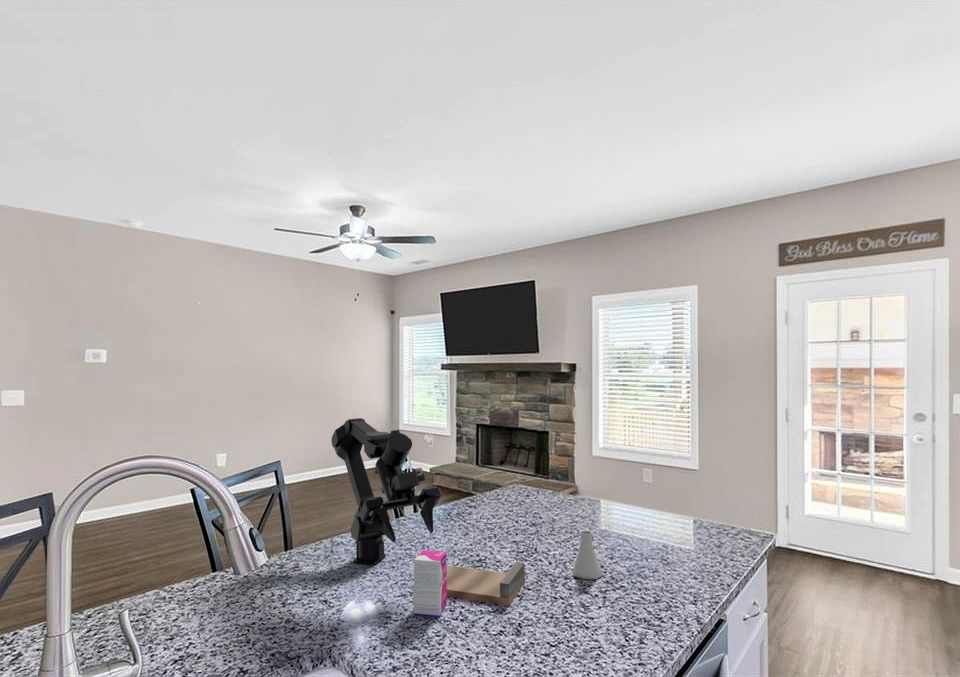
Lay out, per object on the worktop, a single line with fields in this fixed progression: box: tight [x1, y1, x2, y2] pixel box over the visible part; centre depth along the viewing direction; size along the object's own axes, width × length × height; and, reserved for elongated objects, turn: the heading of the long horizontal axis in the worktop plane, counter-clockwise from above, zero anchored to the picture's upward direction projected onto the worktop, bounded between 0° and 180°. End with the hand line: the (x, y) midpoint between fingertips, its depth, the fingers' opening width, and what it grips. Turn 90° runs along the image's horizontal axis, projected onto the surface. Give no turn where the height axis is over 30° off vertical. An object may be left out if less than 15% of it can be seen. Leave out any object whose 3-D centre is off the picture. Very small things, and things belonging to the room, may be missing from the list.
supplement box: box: [413, 550, 448, 619], centre depth 109 cm, size 6×6×12 cm
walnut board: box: [447, 561, 526, 606], centre depth 119 cm, size 20×12×4 cm, turn 69°
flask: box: [572, 529, 603, 580], centre depth 125 cm, size 7×7×10 cm
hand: (413, 536), depth 115 cm, fingers open, 9 cm apart
